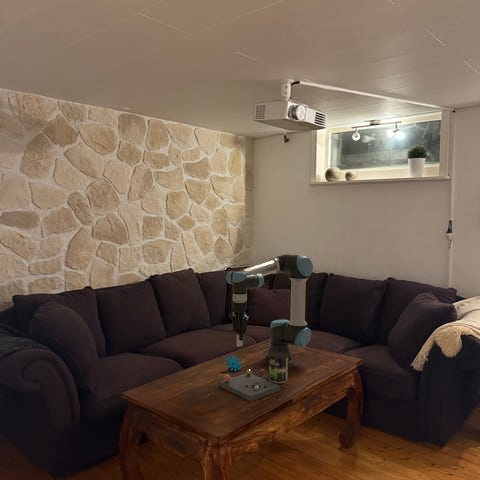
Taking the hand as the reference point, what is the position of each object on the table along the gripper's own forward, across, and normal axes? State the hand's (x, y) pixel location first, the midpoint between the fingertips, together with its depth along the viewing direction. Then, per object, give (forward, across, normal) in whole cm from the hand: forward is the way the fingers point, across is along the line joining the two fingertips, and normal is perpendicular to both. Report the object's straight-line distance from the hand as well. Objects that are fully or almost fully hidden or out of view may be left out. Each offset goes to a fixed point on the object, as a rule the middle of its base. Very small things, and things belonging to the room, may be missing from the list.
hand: (239, 345), depth 234 cm
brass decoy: (+16, -1, +8) cm, 18 cm away
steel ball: (+19, +14, 0) cm, 23 cm away
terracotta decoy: (+16, -1, -8) cm, 18 cm away
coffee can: (+21, +9, +20) cm, 30 cm away
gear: (+21, -18, +11) cm, 30 cm away
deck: (+20, +7, 0) cm, 22 cm away
